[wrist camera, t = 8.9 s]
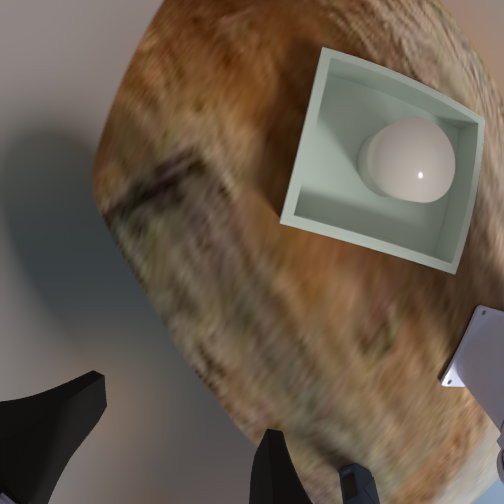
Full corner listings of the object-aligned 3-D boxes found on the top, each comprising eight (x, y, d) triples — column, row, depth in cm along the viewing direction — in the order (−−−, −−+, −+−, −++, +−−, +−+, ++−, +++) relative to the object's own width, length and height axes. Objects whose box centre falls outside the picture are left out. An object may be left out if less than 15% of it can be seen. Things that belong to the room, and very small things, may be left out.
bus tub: (462, 126, 16) (484, 119, 13) (434, 263, 18) (455, 274, 15) (316, 66, 16) (322, 46, 13) (279, 218, 18) (280, 223, 15)
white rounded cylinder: (422, 148, 16) (461, 139, 11) (406, 207, 17) (443, 215, 12) (366, 121, 16) (393, 101, 11) (348, 183, 17) (372, 182, 12)
